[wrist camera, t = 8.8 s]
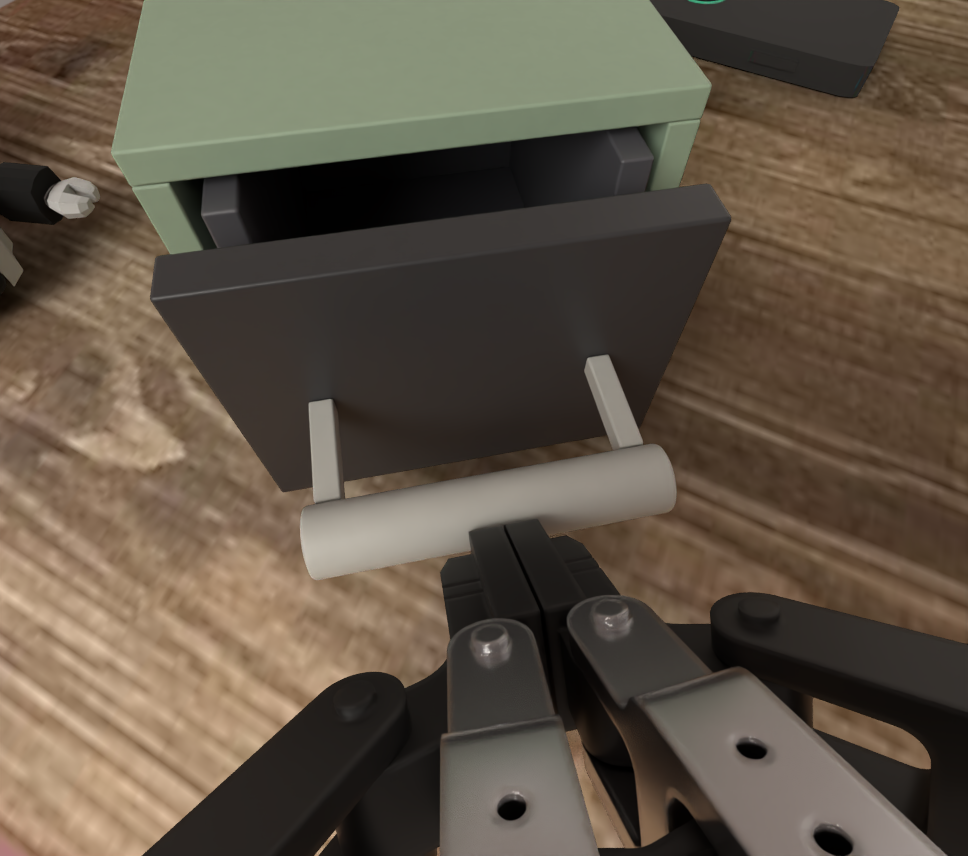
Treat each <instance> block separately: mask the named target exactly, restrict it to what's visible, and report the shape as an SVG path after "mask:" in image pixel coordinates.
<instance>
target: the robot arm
mask: <svg viewBox="0 0 968 856" xmlns="http://www.w3.org/2000/svg"><path fill="white" fill-rule="evenodd" d="M468 533H469V542H470V548H471V554H470V555H465V556H460V557H455V558H450V559H448V560H447V562H446V564H445V565H444V567H443V569H442V570H441V572H440V574H441V581H442V587H443V594H444V601H445V607H446V614H447V620H448V627H449V634H450V642H449V644H448V647H447V659H446V661H445V662H444V664H443V665H442V666H441V667H440V668H439V669H438V670H437V671H435V672H434V673H433V674H431V675H430V676H428V677H427V678H425V679H423V680H421V681H419V682H417V683H415V684H413V685H411V686H409V687H407V688H404V686H403V684H402V683H401V681H400V680H399V679H397V678H396V677H394V676H392V675H390V674H387V673H382V672H365V673H360V674H356V675H352V676H349V677H347V678H344V679H342V680H340V681H338V682H336V683H334V684H332V685H331V686H329V687H328V688H326V689H325V690H324V691H323V692H322V693H320V694H319V695H318V696H317V697H316V698H315V699H314V700H313V701H312V702H310V703H309V704H308V705H307V706H306V707H305V708H304V709H303V710H302V711H301V712H299V713H298V714H297V715H296V716H295V717H294V718H293V719H292V720H291V721H290V722H288V723H287V724H286V725H285V726H284V727H283V728H282V729H281V730H280V731H279V732H277V733H276V734H275V735H274V736H273V737H272V738H271V739H270V740H269V741H268V742H266V743H265V744H264V745H263V746H262V747H261V748H260V749H259V750H258V751H257V752H255V753H254V754H253V755H252V756H251V757H250V758H249V759H248V760H247V761H246V762H244V763H243V764H242V765H241V766H240V767H239V768H238V769H237V770H236V771H235V772H233V773H232V774H231V775H230V776H229V777H228V778H227V779H226V780H225V781H224V782H222V783H221V784H220V785H219V786H218V787H217V788H216V789H215V790H214V791H213V792H211V793H210V794H209V795H208V796H207V797H206V798H205V799H204V800H203V801H202V802H200V803H199V804H198V805H197V806H196V807H195V808H194V809H193V810H192V811H191V812H189V813H188V814H187V815H186V816H185V817H184V818H183V819H182V820H181V821H180V822H178V823H177V824H176V825H175V826H174V827H173V828H172V829H171V830H170V831H169V832H167V833H166V834H165V835H164V836H163V837H162V838H161V839H160V840H159V841H158V842H156V843H155V844H154V845H153V846H152V847H151V848H150V849H149V850H148V851H147V852H145V853H144V854H143V855H142V856H314V855H315V854H316V852H317V851H318V850H319V849H320V848H321V846H322V845H323V844H324V843H325V842H326V840H327V839H328V838H329V837H330V836H331V834H332V833H333V832H334V831H335V829H336V832H337V834H336V835H335V836H334V837H333V839H332V840H331V841H330V842H329V844H328V845H327V846H326V847H325V848H324V850H323V851H322V852H321V853H320V855H319V856H437V848H438V847H439V846H440V856H968V644H964V643H960V642H956V641H952V640H948V639H945V638H941V637H937V636H933V635H929V634H925V633H921V632H917V631H913V630H909V629H905V628H901V627H897V626H893V625H889V624H885V623H882V622H878V621H874V620H870V619H866V618H862V617H858V616H854V615H850V614H846V613H842V612H838V611H834V610H830V609H826V608H822V607H819V606H815V605H811V604H807V603H803V602H799V601H795V600H791V599H787V598H783V597H779V596H775V595H771V594H765V593H753V592H748V593H737V594H732V595H728V596H726V597H723V598H721V599H720V600H718V601H717V602H716V603H714V605H713V606H712V608H711V611H710V619H711V624H670V623H665V622H664V621H663V620H662V619H661V618H660V617H659V616H658V615H657V614H656V613H655V612H654V611H653V610H652V609H651V608H650V607H649V606H648V605H646V604H645V603H643V602H642V601H639V600H637V599H635V598H631V597H627V596H621V595H620V594H619V592H618V591H617V589H616V588H615V587H614V585H613V584H612V583H611V581H610V580H609V579H608V577H607V576H606V575H605V573H604V572H603V571H602V569H601V568H599V565H598V564H597V562H596V561H595V560H594V558H592V556H591V554H590V553H589V552H588V550H587V549H586V547H585V546H584V545H583V544H582V543H580V542H578V541H576V540H574V539H572V538H570V537H568V536H561V537H556V538H551V539H550V538H549V536H548V535H547V533H546V531H545V530H544V528H543V527H542V525H541V523H540V522H539V520H538V519H537V518H536V519H531V520H526V521H521V522H516V523H510V524H505V525H504V529H503V527H502V526H495V527H490V528H485V529H480V530H475V531H470V532H468ZM812 697H815V698H818V699H820V700H823V701H826V702H829V703H832V704H835V705H837V706H840V707H843V708H846V709H849V710H852V711H854V712H857V713H860V714H863V715H866V716H869V717H871V718H874V719H877V720H880V721H883V722H886V723H888V724H891V725H894V726H897V727H899V728H901V729H903V730H905V731H907V732H909V733H910V734H912V735H913V736H914V737H915V738H917V739H918V740H919V741H920V742H921V743H922V744H923V746H924V747H925V748H926V750H927V751H928V753H929V756H930V759H931V769H919V768H915V767H912V766H909V765H907V764H904V763H902V762H899V761H897V760H894V759H891V758H889V757H886V756H884V755H881V754H878V753H876V752H873V751H871V750H868V749H866V748H863V747H860V746H858V745H855V744H853V743H850V742H847V741H845V740H842V739H840V738H837V737H834V736H832V735H829V734H827V733H824V732H822V731H819V730H816V729H814V728H813V706H812ZM575 729H577V730H578V732H579V735H580V737H581V741H582V749H583V757H584V764H585V769H586V771H587V774H588V776H589V778H590V780H591V782H592V784H593V786H594V788H595V790H596V792H597V794H598V796H599V798H600V800H601V802H602V804H603V806H604V808H605V810H606V812H607V814H608V816H609V818H610V820H611V822H612V824H613V826H614V828H615V830H616V832H617V834H618V836H619V838H620V840H621V842H622V844H623V846H624V848H597V844H596V841H595V837H594V834H593V830H592V826H591V823H590V819H589V815H588V812H587V808H586V805H585V801H584V797H583V794H582V790H581V786H580V783H579V779H578V776H577V772H576V768H575V765H574V761H573V758H572V754H571V750H570V747H569V743H568V739H567V736H566V731H571V730H575Z"/></svg>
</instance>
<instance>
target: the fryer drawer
mask: <svg viewBox="0 0 968 856" xmlns="http://www.w3.org/2000/svg"><path fill="white" fill-rule="evenodd" d="M653 161H654V156H653V154H652V153H651V151H650V149H649V147H648V146H647V144H646V142H645V141H644V139H643V137H642V135H641V134H640V132H639V130H638V128H637V127H636V126H635V127H627V128H619V129H610V130H602V131H593V132H585V133H577V134H568V135H560V136H552V137H543V138H535V139H526V140H518V141H510V142H501V143H493V144H485V145H476V146H468V147H459V148H451V149H443V150H434V151H426V152H418V153H409V154H401V155H392V156H384V157H376V158H367V159H359V160H351V161H342V162H334V163H325V164H317V165H309V166H300V167H292V168H284V169H275V170H267V171H258V172H250V173H242V174H233V175H225V176H217V177H208V178H204V183H203V196H202V209H201V216H202V218H203V220H204V222H205V224H206V226H207V228H208V230H209V232H210V234H211V236H212V238H213V240H214V242H215V244H216V246H217V248H215V249H208V250H200V251H192V252H185V253H177V254H170V255H162V256H158V257H156V258H155V264H154V272H153V280H152V287H151V295H150V300H151V302H152V303H153V305H154V306H155V308H156V309H157V310H158V312H159V313H160V315H161V316H162V318H163V319H164V321H165V322H166V324H167V325H168V326H169V328H170V329H171V331H172V332H173V334H174V335H175V337H176V338H177V340H178V341H179V342H180V344H181V345H182V347H183V348H184V350H185V351H186V353H187V354H188V356H189V357H190V358H191V360H192V361H193V363H194V364H195V366H196V367H197V369H198V370H199V372H200V373H201V374H202V376H203V377H204V379H205V380H206V382H207V383H208V385H209V386H210V388H211V389H212V390H213V392H214V393H215V395H216V396H217V398H218V399H219V401H220V402H221V404H222V405H223V406H224V408H225V409H226V411H227V412H228V414H229V415H230V417H231V418H232V420H233V421H234V422H235V424H236V425H237V427H238V428H239V430H240V431H241V433H242V434H243V435H244V437H245V438H246V440H247V441H248V443H249V444H250V446H251V447H252V449H253V450H254V451H255V453H256V454H257V456H258V457H259V459H260V460H261V462H262V463H263V465H264V466H265V467H266V469H267V470H268V472H269V473H270V475H271V476H272V478H273V479H274V481H275V482H276V483H277V485H278V486H279V488H280V489H281V491H282V492H288V491H294V490H299V489H305V488H311V487H313V498H314V502H315V504H314V505H308V506H306V507H304V508H303V510H302V513H301V519H300V537H301V546H302V552H303V557H304V561H305V564H306V567H307V570H308V572H309V574H310V576H311V577H312V578H313V579H314V580H321V579H327V578H332V577H337V576H342V575H347V574H352V573H358V572H363V571H368V570H373V569H378V568H383V567H389V566H394V565H399V564H404V563H409V562H414V561H420V560H425V559H430V558H435V557H440V556H445V555H451V554H456V553H461V552H466V551H471V548H470V542H469V533H468V532H470V531H475V530H480V529H485V528H490V527H495V526H502V527H503V529H504V525H505V524H510V523H516V522H521V521H526V520H531V519H536V518H537V519H538V520H539V522H540V523H541V525H542V527H543V528H544V530H545V531H546V533H547V535H548V536H549V535H554V534H559V533H564V532H569V531H575V530H580V529H585V528H590V527H595V526H601V525H606V524H611V523H616V522H621V521H626V520H632V519H637V518H642V517H647V516H652V515H657V514H663V513H668V512H669V511H671V510H672V509H673V508H674V506H675V503H676V496H677V489H676V480H675V475H674V471H673V468H672V465H671V462H670V460H669V458H668V456H667V454H666V453H665V451H664V450H663V449H662V448H661V447H660V446H659V445H656V444H647V445H643V440H642V437H641V435H640V432H639V430H638V429H639V428H640V426H641V424H642V421H643V419H644V417H645V415H646V412H647V410H648V408H649V406H650V403H651V401H652V399H653V397H654V394H655V392H656V390H657V387H658V385H659V383H660V381H661V378H662V376H663V374H664V372H665V369H666V367H667V365H668V363H669V360H670V358H671V356H672V353H673V351H674V349H675V347H676V344H677V342H678V340H679V338H680V335H681V333H682V331H683V329H684V326H685V324H686V322H687V319H688V317H689V315H690V313H691V310H692V308H693V306H694V304H695V301H696V299H697V297H698V295H699V292H700V290H701V288H702V285H703V283H704V281H705V279H706V276H707V274H708V272H709V270H710V267H711V265H712V263H713V261H714V258H715V256H716V254H717V252H718V249H719V247H720V245H721V242H722V240H723V238H724V236H725V233H726V231H727V229H728V227H729V224H730V222H731V216H730V214H729V213H728V211H727V209H726V208H725V206H724V205H723V203H722V202H721V200H720V199H719V197H718V195H717V194H716V192H715V191H714V189H713V188H712V186H711V185H710V184H700V185H693V186H685V187H677V188H670V189H662V190H655V191H647V192H645V190H646V186H647V182H648V179H649V175H650V172H651V168H652V164H653ZM605 435H608V438H609V441H610V443H611V446H612V449H613V451H609V452H603V453H597V454H592V455H586V456H581V457H575V458H570V459H564V460H558V461H553V462H547V463H542V464H536V465H531V466H525V467H520V468H514V469H508V470H503V471H497V472H492V473H486V474H481V475H475V476H470V477H464V478H458V479H453V480H447V481H442V482H436V483H431V484H425V485H419V486H414V487H408V488H403V489H397V490H392V491H386V492H381V493H375V494H369V495H364V496H358V497H353V498H347V499H345V492H344V482H345V481H350V480H356V479H362V478H367V477H373V476H378V475H384V474H390V473H395V472H401V471H407V470H412V469H418V468H424V467H429V466H435V465H441V464H446V463H452V462H458V461H463V460H469V459H475V458H480V457H486V456H492V455H497V454H503V453H509V452H514V451H520V450H526V449H531V448H537V447H543V446H548V445H554V444H560V443H565V442H571V441H577V440H582V439H588V438H594V437H599V436H605Z"/></svg>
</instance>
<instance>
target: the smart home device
mask: <svg viewBox="0 0 968 856" xmlns="http://www.w3.org/2000/svg"><path fill="white" fill-rule="evenodd" d="M650 2H651V3H652V5H653V6H654V7H655V9H656V10H657V11H658V13H659V14H660V15H661V17H662V18H663V19H664V21H665V22H666V23H667V25H668V26H669V27H670V29H671V30H672V31H673V33H674V34H675V35H676V37H677V38H678V39H679V41H680V42H681V44H682V45H683V46H684V48H685V49H686V50H687V52H688V53H689V54H690V55H691V56H695V57H698V58H702V59H705V60H709V61H713V62H716V63H720V64H724V65H727V66H731V67H735V68H738V69H742V70H746V71H749V72H753V73H757V74H760V75H764V76H768V77H771V78H775V79H779V80H782V81H786V82H790V83H793V84H797V85H800V86H804V87H808V88H811V89H815V90H819V91H822V92H826V93H830V94H834V95H838V96H843V97H857V96H858V94H859V92H860V90H861V88H862V87H863V85H864V83H865V81H866V79H867V77H868V75H869V74H870V72H871V70H872V68H873V66H874V64H875V63H876V61H877V59H878V56H879V54H880V52H881V50H882V47H883V45H884V43H885V40H886V38H887V36H888V34H889V31H890V29H891V27H892V25H893V22H894V20H895V18H896V16H897V13H898V11H899V6H897V5H895V4H894V3H891V2H888V1H884V0H650Z"/></svg>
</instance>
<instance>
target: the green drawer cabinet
mask: <svg viewBox="0 0 968 856" xmlns="http://www.w3.org/2000/svg"><path fill="white" fill-rule="evenodd" d="M711 87H712V85H711V83H710V81H709V80H708V78H707V77H706V76H705V74H704V73H703V72H702V70H701V69H700V68H699V66H698V65H697V64H696V62H695V61H694V60H693V58H692V57H691V56H690V54H689V53H688V52H687V50H686V49H685V48H684V46H683V45H682V44H681V42H680V41H679V39H678V38H677V37H676V35H675V34H674V33H673V31H672V30H671V29H670V27H669V26H668V25H667V23H666V22H665V21H664V19H663V18H662V17H661V15H660V14H659V13H658V11H657V10H656V9H655V7H654V6H653V5H652V3H651V2H650V0H144V3H143V8H142V12H141V17H140V21H139V26H138V31H137V35H136V40H135V44H134V49H133V54H132V58H131V63H130V67H129V72H128V76H127V81H126V86H125V90H124V95H123V99H122V104H121V109H120V113H119V118H118V122H117V127H116V132H115V136H114V141H113V145H112V150H111V154H112V156H113V158H114V159H115V161H116V163H117V164H118V166H119V168H120V169H121V171H122V173H123V175H124V176H125V178H126V180H127V181H128V183H129V185H131V186H132V190H133V192H134V193H135V195H136V197H137V198H138V200H139V202H140V203H141V205H142V207H143V209H144V210H145V212H146V214H147V215H148V217H149V219H150V220H151V222H152V224H153V225H154V227H155V229H156V231H157V232H158V234H159V236H160V237H161V239H162V241H163V242H164V244H165V246H166V247H167V249H168V251H169V253H170V254H177V253H185V252H192V251H200V250H208V249H215V248H217V246H216V244H215V242H214V240H213V238H212V236H211V234H210V232H209V230H208V228H207V226H206V224H205V222H204V220H203V218H202V216H201V209H202V196H203V183H204V178H208V177H217V176H225V175H233V174H242V173H250V172H258V171H267V170H275V169H284V168H292V167H300V166H309V165H317V164H325V163H334V162H342V161H351V160H359V159H367V158H376V157H384V156H392V155H401V154H409V153H418V152H426V151H434V150H443V149H451V148H459V147H468V146H476V145H485V144H493V143H501V142H510V141H518V140H526V139H535V138H543V137H552V136H560V135H568V134H577V133H585V132H593V131H602V130H610V129H619V128H627V127H635V126H636V127H637V128H638V130H639V132H640V134H641V135H642V137H643V139H644V141H645V142H646V144H647V146H648V147H649V149H650V151H651V153H652V154H653V156H654V161H653V164H652V168H651V172H650V175H649V179H648V182H647V186H646V190H645V192H647V191H655V190H662V189H670V188H677V187H679V185H680V182H681V179H682V176H683V173H684V170H685V167H686V164H687V161H688V158H689V155H690V152H691V149H692V146H693V143H694V140H695V137H696V134H697V131H698V128H699V125H700V118H701V117H702V115H703V112H704V109H705V106H706V103H707V100H708V97H709V94H710V91H711Z"/></svg>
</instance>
